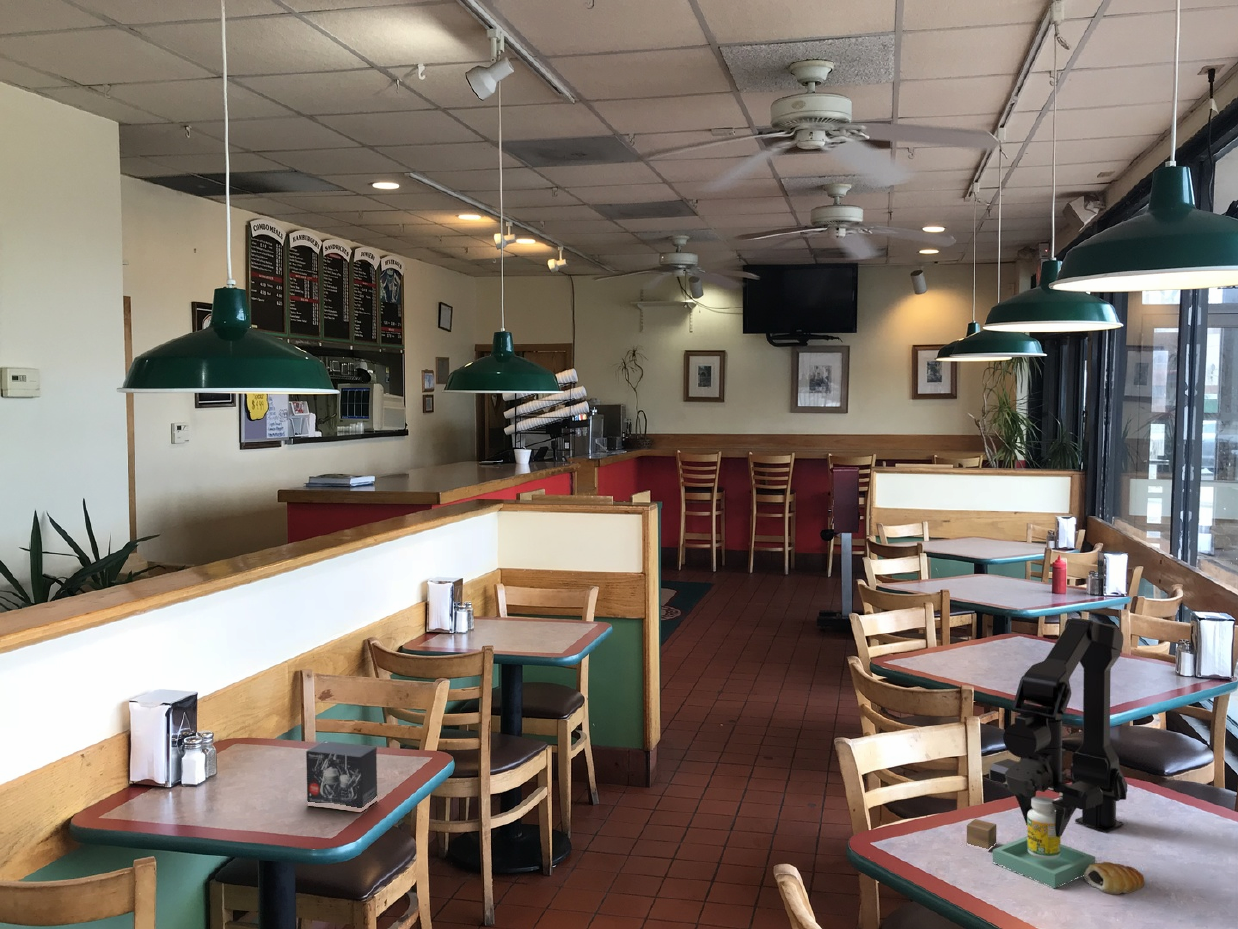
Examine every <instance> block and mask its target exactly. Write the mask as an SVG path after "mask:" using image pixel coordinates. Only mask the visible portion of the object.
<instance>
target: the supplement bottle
mask: <svg viewBox="0 0 1238 929" xmlns="http://www.w3.org/2000/svg"><path fill="white" fill-rule="evenodd" d="M1053 801H1056V799H1053V798H1051V797H1049V796H1048V797H1047V796H1036V797H1033V798H1032V799H1031V806H1032V809H1030V810H1029V811H1028V814H1027V825H1026V826H1027V830H1026V832H1027V836H1026V837H1027V841H1028V842H1027V845H1028V852H1029V853H1030V854H1031V855H1032V856H1034V857H1037V858H1041V859H1046V860H1053V859H1057V858H1058V857H1059V856H1060V844H1061V836H1060V837H1057V836H1056V830H1055V822H1056V808H1055V807H1054V805H1053V804H1052V802H1053Z"/></svg>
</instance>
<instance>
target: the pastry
mask: <svg viewBox="0 0 1238 929" xmlns="http://www.w3.org/2000/svg"><path fill="white" fill-rule="evenodd" d="M1083 878H1084V880H1085V881H1088V882H1087V884H1088V883H1090V884H1091V885H1092V886H1091V885H1090V884H1089V885H1090V886H1091V887H1093V886H1094V887H1093V888H1096V889H1098V890H1100V891H1102V892H1103V893H1106V892H1107V893H1108V894H1110V893H1111V895H1120V894H1121V893H1124V894H1128V893H1131V892H1135V891H1138V890H1140V889H1142V888H1143V887H1144V885H1145V877H1144V875H1143V874H1142V873H1141V872H1140V871H1138V869H1136V868H1135V867H1132V866H1130V865H1127V866H1125V865H1124V864H1120V863H1113V862H1110V861H1103V862H1095V863H1094V864H1093V865H1089V867H1088V868H1087V869H1086V872H1084V876H1083ZM1137 889H1138V890H1137ZM1107 893H1106V894H1107Z"/></svg>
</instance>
